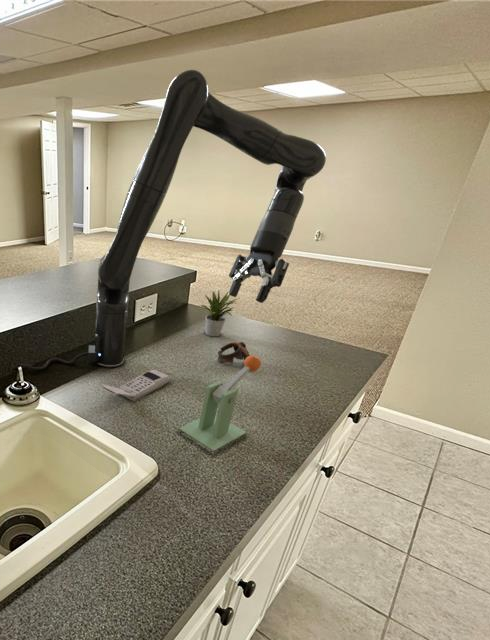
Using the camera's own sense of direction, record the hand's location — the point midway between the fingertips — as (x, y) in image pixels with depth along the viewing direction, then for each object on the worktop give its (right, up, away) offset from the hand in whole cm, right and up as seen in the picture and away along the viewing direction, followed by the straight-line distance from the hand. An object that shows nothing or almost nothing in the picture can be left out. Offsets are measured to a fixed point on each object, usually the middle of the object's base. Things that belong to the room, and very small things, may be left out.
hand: (245, 298), depth 101 cm
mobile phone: (-26, -24, +9) cm, 36 cm away
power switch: (-11, -33, -7) cm, 36 cm away
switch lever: (-6, -21, -10) cm, 24 cm away
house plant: (+7, -4, +47) cm, 48 cm away
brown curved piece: (+7, -15, +26) cm, 31 cm away
